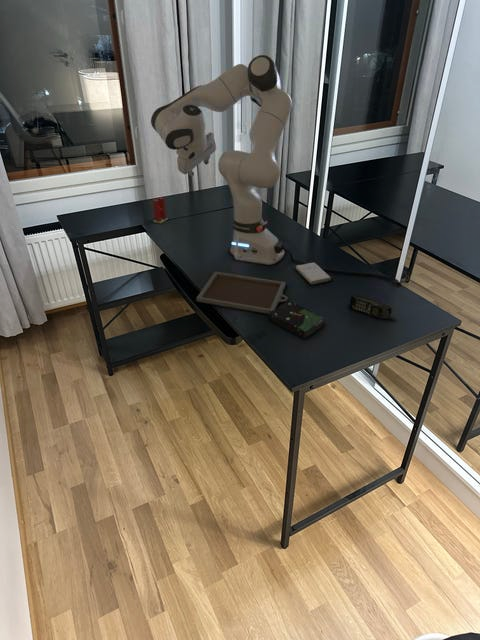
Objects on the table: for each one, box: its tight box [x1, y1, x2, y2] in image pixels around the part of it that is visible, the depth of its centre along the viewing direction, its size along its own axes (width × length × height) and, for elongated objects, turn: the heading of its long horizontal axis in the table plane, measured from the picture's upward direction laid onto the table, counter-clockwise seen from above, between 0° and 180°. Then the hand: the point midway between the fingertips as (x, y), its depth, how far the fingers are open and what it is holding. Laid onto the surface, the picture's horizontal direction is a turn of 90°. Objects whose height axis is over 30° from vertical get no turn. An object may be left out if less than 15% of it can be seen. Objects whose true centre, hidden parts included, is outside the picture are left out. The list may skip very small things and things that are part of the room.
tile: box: [152, 217, 169, 224], centre depth 205 cm, size 5×6×1 cm
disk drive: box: [268, 300, 325, 338], centre depth 138 cm, size 10×3×15 cm
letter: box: [152, 196, 167, 222], centre depth 202 cm, size 3×5×10 cm, turn 143°
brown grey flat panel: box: [195, 271, 289, 315], centre depth 152 cm, size 19×2×30 cm
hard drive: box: [295, 262, 332, 285], centre depth 163 cm, size 2×8×12 cm
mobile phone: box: [349, 294, 396, 321], centre depth 141 cm, size 5×3×15 cm
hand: (199, 169), depth 190 cm, fingers open, 8 cm apart
